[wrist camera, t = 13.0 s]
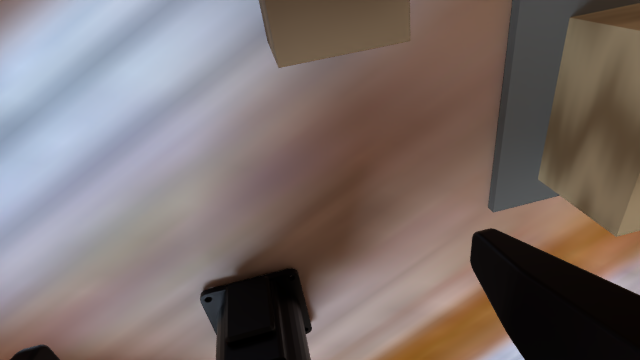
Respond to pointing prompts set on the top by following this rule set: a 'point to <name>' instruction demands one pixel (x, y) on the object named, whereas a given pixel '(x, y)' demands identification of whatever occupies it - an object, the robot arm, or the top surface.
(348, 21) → the brown wooden cube
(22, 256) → the top surface
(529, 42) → the mat
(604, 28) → the wooden block
